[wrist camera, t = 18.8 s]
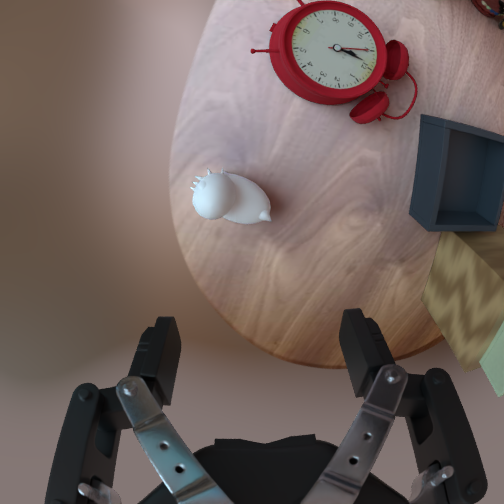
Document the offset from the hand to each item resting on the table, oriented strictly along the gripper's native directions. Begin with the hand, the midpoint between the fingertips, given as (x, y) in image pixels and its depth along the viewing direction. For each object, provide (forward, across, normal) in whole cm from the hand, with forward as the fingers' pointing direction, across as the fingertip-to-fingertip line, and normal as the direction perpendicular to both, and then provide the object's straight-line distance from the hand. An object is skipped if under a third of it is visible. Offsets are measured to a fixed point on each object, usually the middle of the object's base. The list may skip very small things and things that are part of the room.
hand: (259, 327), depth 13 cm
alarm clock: (+18, -9, -14) cm, 24 cm away
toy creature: (+18, +2, -1) cm, 18 cm away
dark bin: (+18, -24, -4) cm, 30 cm away
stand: (+18, -30, +10) cm, 36 cm away
